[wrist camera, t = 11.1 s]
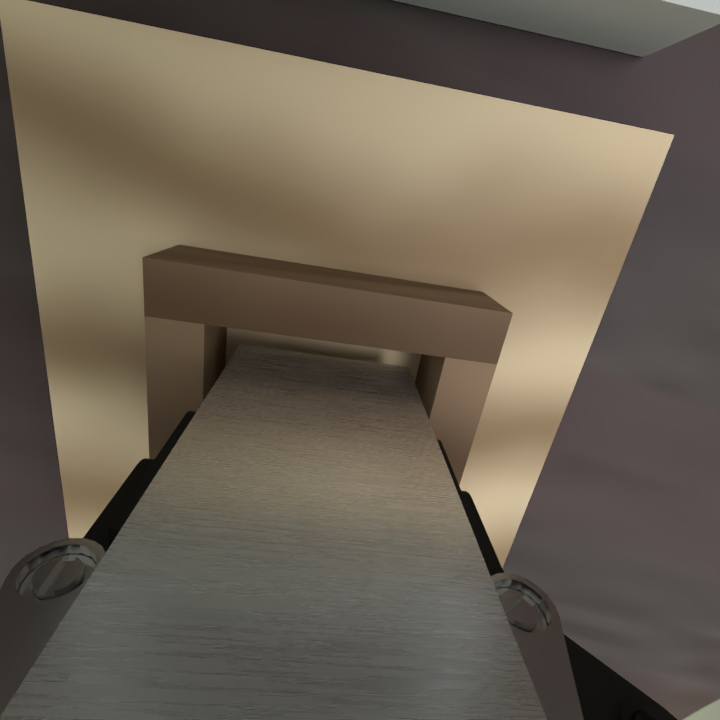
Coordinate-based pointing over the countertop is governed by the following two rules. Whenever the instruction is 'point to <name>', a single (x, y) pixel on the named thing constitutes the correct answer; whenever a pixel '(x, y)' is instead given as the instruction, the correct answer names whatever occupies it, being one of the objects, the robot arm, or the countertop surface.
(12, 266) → the countertop surface
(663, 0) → the tote tray
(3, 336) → the countertop surface
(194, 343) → the plate
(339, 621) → the block
